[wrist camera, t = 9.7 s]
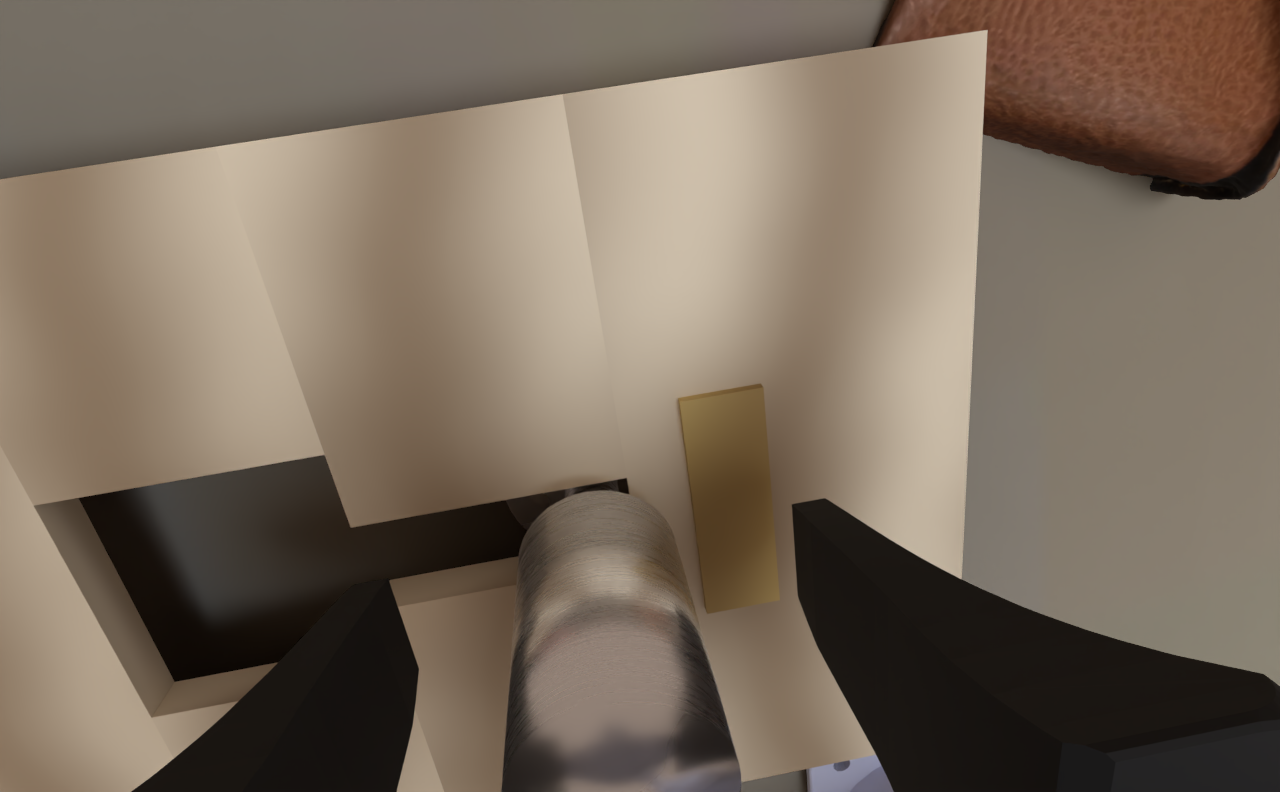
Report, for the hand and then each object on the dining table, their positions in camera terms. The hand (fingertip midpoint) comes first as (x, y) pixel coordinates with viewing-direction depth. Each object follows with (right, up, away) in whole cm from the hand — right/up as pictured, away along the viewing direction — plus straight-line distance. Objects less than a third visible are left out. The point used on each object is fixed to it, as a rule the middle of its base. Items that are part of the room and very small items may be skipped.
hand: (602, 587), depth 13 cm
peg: (-1, +2, +5) cm, 5 cm away
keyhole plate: (-4, +1, +5) cm, 6 cm away
